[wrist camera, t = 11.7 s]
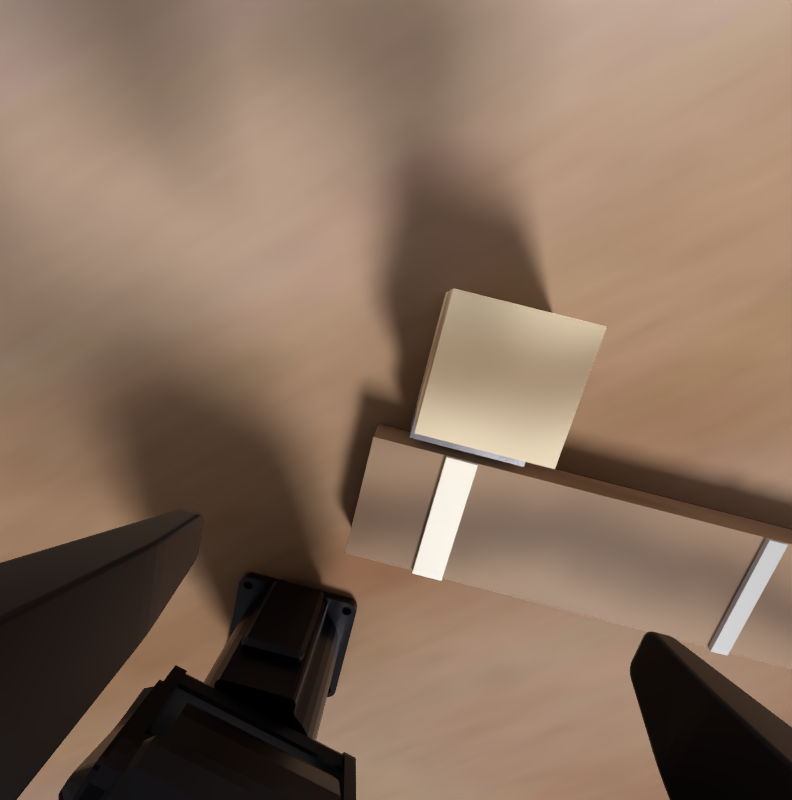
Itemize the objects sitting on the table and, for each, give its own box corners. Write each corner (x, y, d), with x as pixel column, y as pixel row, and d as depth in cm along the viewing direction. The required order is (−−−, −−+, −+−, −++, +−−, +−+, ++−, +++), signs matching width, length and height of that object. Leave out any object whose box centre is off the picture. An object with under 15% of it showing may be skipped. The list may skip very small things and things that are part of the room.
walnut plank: (879, 667, 21) (931, 708, 19) (352, 530, 21) (344, 555, 19) (945, 569, 20) (1009, 601, 17) (378, 423, 20) (372, 438, 18)
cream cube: (512, 446, 20) (543, 499, 14) (411, 421, 20) (406, 464, 14) (554, 319, 18) (607, 326, 13) (445, 292, 18) (453, 287, 13)
